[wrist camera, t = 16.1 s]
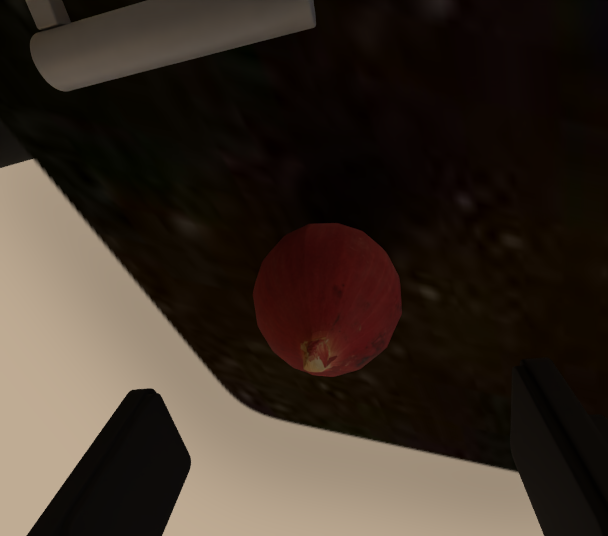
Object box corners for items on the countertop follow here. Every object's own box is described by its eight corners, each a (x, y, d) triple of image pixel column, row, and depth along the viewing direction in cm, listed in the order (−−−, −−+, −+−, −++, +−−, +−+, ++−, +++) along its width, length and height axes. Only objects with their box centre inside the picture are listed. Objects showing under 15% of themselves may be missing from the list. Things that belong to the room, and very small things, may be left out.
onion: (417, 255, 18) (461, 372, 11) (335, 327, 21) (327, 461, 14) (325, 173, 17) (309, 247, 10) (248, 259, 19) (190, 369, 12)
